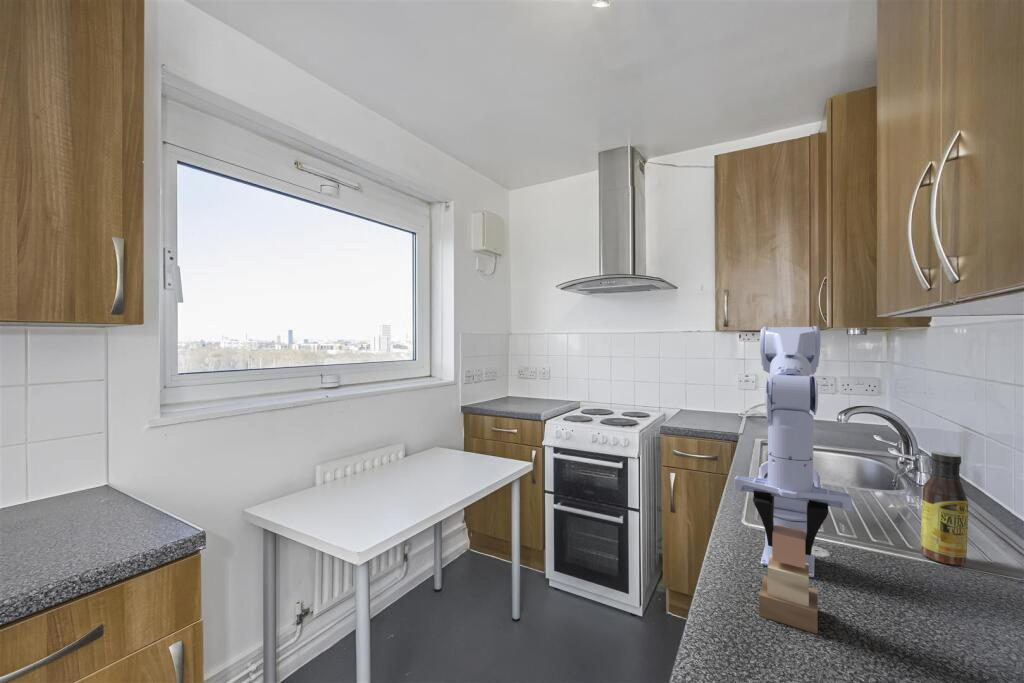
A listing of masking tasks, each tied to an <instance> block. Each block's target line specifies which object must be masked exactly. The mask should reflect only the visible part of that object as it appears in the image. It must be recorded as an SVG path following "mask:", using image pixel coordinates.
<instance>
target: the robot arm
mask: <svg viewBox="0 0 1024 683" xmlns="http://www.w3.org/2000/svg"><path fill="white" fill-rule="evenodd" d="M759 337H760V338H759V348H760V349H759V350H760V351H759V354H760V358H761V363H760V364H761V366H762V370H763V372H765V373H767V374H769V376H768V377H769V378H768V377H766V379H765V382H764V406H765V409H766V423H767V424H768V426H767V461H765V462H763V463H761V464H760V467H758V475H757V477H754V476H753V477H751V476H742V475H736V476H735V477H734V491H735V492H736V491H737V492H748V493H753V498H752V502H753V505H754V506H755V508H756V510H757V512H758V515H759V517H760V519H761V522H762V525H763V528H764V531H765V532H764V533H765V534H764V536H765V538H764V540H765V541H764V549H763V551H762V554H761V557H760V558H761V559H760V565H762V566H766V567H768V562H769V556H770V555H772V537H773V529H774V525H780V526H785V527H790V528H795V529H800V530H804V531H806V544H805V554H806V562H805V563H808V564H809V578H814V577H815V560H816V559H815V555H814V554H813V552H812V551H813V545H814V543H815V539H816V537H817V534H818V532H819V531H820V528H821V527H822V525H823V524H824V522H825V520H826V519H827V517H828V515H829V507H832V508H838V509H841V510H842V511H847V512H853V510H852V508H853V507H852V506H853V505H852V504H853V501H852V500H853V499H852V498H853V497H852V494H851V493H848V492H847V493H846V492H842V491H837V490H832V489H830V488H829V489H828V488H824V487H822V486H821V476H820V475H819V472H818V471H817V470H816V469H815V468H814V416H816V414H817V411H818V406H819V404H818V403H819V389H818V388H819V387H818V381H817V377H816V375H815V374H814V373H816V372H817V369H818V368H819V363H820V362H819V360H820V356H821V344H822V343H821V340H822V339H821V329H820V328H819V327H818V326H817V325H813V326H787V327H786V326H783V327H782V326H768V327H767V326H763V327H762V328H761V329H760V336H759ZM811 412H812V413H813V415H812V414H811Z"/></svg>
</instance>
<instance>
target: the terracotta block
mask: <svg viewBox="0 0 1024 683" xmlns="http://www.w3.org/2000/svg"><path fill="white" fill-rule="evenodd" d="M805 544H806V531H804V530H800V529H795V528H790V527H785V526H780V525H774V529H773V537H772V560H773V561H777V562H781V563H785V564H789V565H793V566H797V567H801V568H805V562H806V554H805Z"/></svg>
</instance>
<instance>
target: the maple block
mask: <svg viewBox="0 0 1024 683" xmlns="http://www.w3.org/2000/svg"><path fill="white" fill-rule="evenodd" d="M767 576H768V577H767V595H768V596H772V597H775V598H779V599H782V600H786V601H790V602H793V603H797V604H800V605H804V606H807V607H809V587H810V577H809V564H808V563H805V568H801V567H797V566H793V565H789V564H785V563H781V562H777V561H773V560H772V555H770V556H769V562H768V566H767Z"/></svg>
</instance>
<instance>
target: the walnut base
mask: <svg viewBox="0 0 1024 683" xmlns="http://www.w3.org/2000/svg"><path fill="white" fill-rule="evenodd" d="M767 577H768V575H763V578H762V582H761V587H760V590H759V594H758V597H759V598H758V616H759V617H762V618H765V619H768V620H772V621H775V622H778V623H781V624H784V625H788V626H790V627H794V628H797V629H800V630H803V631H806V632H810V633H812V634H816V635H817V634H818V628H819V627H818V625H819V624H818V620H819V619H818V612H819V611H818V607H819V606H818V602H819V600H818V598H819V597H818V595H819V593H818V592H819V589H817V588H813V587H810V586H809V607H807V606H804V605H800V604H797V603H793V602H790V601H786V600H782V599H779V598H775V597H772V596H768V595H767Z"/></svg>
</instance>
